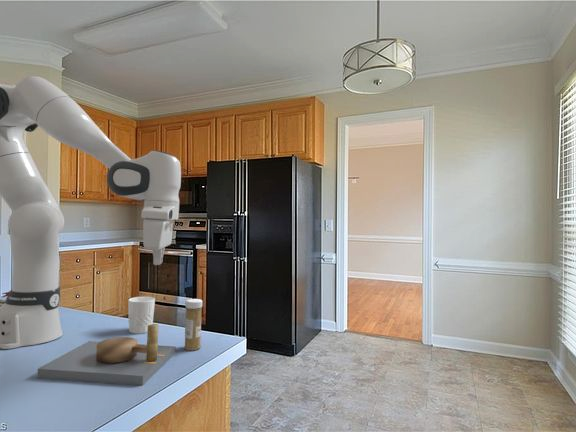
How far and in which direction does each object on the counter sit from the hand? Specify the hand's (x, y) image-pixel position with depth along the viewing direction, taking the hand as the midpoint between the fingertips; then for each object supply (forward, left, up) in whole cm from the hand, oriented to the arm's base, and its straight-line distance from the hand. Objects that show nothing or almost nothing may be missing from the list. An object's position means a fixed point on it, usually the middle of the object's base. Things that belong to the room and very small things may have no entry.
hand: (157, 264), depth 93 cm
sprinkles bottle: (+8, +6, -24) cm, 26 cm away
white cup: (-13, +18, -24) cm, 33 cm away
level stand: (-7, -8, -24) cm, 26 cm away
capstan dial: (-3, -8, -22) cm, 23 cm away
